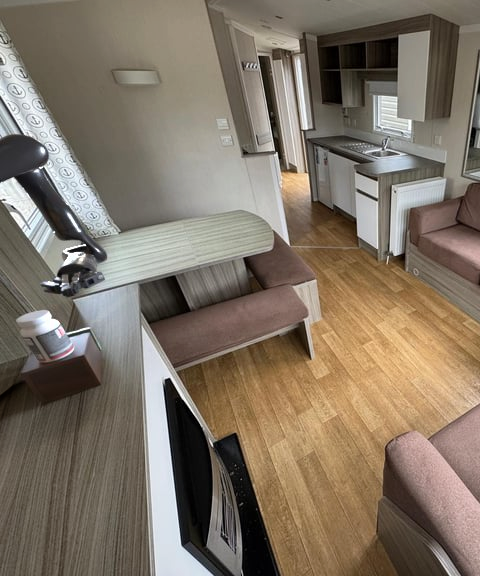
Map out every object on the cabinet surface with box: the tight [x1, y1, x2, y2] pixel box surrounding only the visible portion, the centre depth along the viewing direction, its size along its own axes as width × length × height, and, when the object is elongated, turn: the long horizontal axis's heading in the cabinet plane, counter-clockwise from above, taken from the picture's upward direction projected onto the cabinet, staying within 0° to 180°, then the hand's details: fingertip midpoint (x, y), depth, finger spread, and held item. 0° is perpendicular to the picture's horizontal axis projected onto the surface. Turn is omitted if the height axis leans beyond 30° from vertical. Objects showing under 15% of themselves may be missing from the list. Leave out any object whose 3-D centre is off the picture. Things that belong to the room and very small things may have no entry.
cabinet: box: [20, 333, 105, 405], centre depth 69 cm, size 11×10×9 cm
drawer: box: [65, 326, 103, 352], centre depth 73 cm, size 11×8×7 cm
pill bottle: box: [15, 309, 74, 363], centre depth 63 cm, size 6×6×10 cm
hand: (68, 293), depth 76 cm, fingers closed
